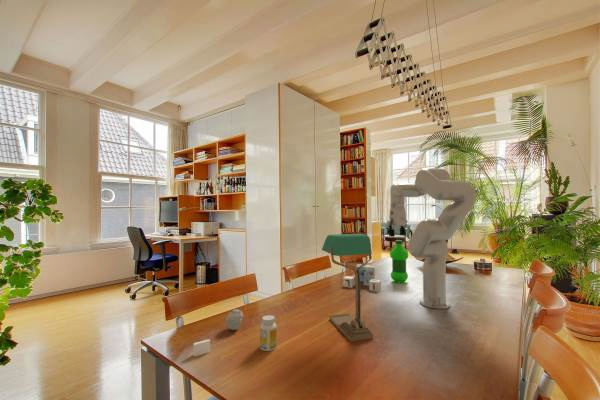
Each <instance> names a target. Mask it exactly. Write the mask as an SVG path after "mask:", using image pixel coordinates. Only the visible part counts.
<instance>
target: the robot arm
mask: <svg viewBox="0 0 600 400" xmlns="http://www.w3.org/2000/svg"><path fill="white" fill-rule="evenodd" d="M425 195H429V197H430V198H432V199H434V200H436V201H452V202H450V203H449V204H448V205H446V206H445V207H444V208H443V210H442V212H441V213H440V215H439V216H438V217H436V218H426V219H423V220H421V221H420V222H418V224H417V225H416V227H415V229H414V231H413V233H412V236H410V239H409V241H408V253H409V254H410V255H411V257H414V258H418V259H420V258H424V261H423V264H422V276H423V277H422V283H423V284H422V286H423V287H422V290H423V291H422V292H423V293H422V295H423V296H422V298H420V299H419V303H420V304H421V305H422V306H424V307H426V308H431V309H435V310H436V309H440V310H443V309H449V308H450V306H451V304H450V302H448V301H447V291H446V290H447V289H446V288H447V287H446V286H447V285H446V284H447V283H446V280H447V279H446V276H447V275H446V273H447V271H446V269H447V268H446V266H447V265H446V264H447V263H446V262H447V256H448V255H447V254H448V250H449V247H448V246H449V245H448V242H447V240H450V239H452V237H453V236H454V235H455V233H456V231H457V230H458V228H459V227H460V225H461V224H462V222H463V220H465V218H466V216H467V215H468V214H469V213H470V211H471V210H472V208H473V207H474V205H475V203H476V198H477V195H476V189H475V187H474V186H473V184H471V183H470V182H469V181H465V180H464V181H463V180H454V179H453V180H451V175H450V173H449V171H448V170H446V169H443V168H437V167H435V168H433V167H430V168H429V167H424V168H421V169H420V170H419V171H417V173H416V175H415V180H414V183H410V182H409V183H407V182H405V183H403V182H402V183H396V184H394V183H393V184H391V186H390V210H389V216H388V217H389V218H388V220H387V221H386V225H387V228H388V236H389V237H393V238H394V237H395V228H396V227H400V228H399V235H400V236H405V235H406V228H407V224H408V220H407V212H406V208H405V198H419V197H422V196H425Z"/></svg>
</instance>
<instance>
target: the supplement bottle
mask: <svg viewBox="0 0 600 400" xmlns="http://www.w3.org/2000/svg"><path fill="white" fill-rule="evenodd" d="M275 318H276V317H275V316H274V315H271V314H270V315H264V316H262V319H261V320H262V321H261V322H262V323H261V324H260V326H259V349H260V351H263V352H271V351H273V350H275V349H276V348H277V327H278V326H277V324H276V322H275V321H276V319H275Z"/></svg>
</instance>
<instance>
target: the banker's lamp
mask: <svg viewBox="0 0 600 400" xmlns="http://www.w3.org/2000/svg"><path fill="white" fill-rule="evenodd" d="M321 251H324V252H325V253H327V254H330V257H331V263H333V264H334V265H337V266H339V267H340V266H341V267H344V268H346V269H350V270H352V271H353V272H354V283H355V318H354V317H353V316H351V314H350V312H344V313H335V314H329V321H331V323H332V324H333V325H334V326H335V327H336V328H337V329H338V330H339V331H340V332H341V333H342V334H343V335H344V337H346V338H347V339H348V341H349V342H357V341H365V340H370V339H371V340H373V339H374V333H373V332H372V331H371V330H370V328H369V327H368V326H367V325H366V324H365V321H364V319H363V318H361V311H362V310H361V306H362V305H361V300H362V299H361V285H360V273H359V269H360V268H361V267H363V266H364V265H367V263H369V262H370V261H371V260H372V257H373V256H372V254H373V253H372V243H371V239H370V236H369V235H368V234H363V233H341V234H338V233H337V234H336V233H335V234H328V235H327V236H326V238H325V241H324V243H323V245H322V248H321ZM359 255H362V256H363V255H368V260H367V261H365V262H364V263H362V264H361V266H360V267H358V268H357V270H356V268H355V267H351V266H349V265H346V264H344V263H341V262H339V261H336V260H335V258H334V256H335V257H341V256H345V257H346V256H359Z"/></svg>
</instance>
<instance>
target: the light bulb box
mask: <svg viewBox="0 0 600 400" xmlns="http://www.w3.org/2000/svg"><path fill="white" fill-rule="evenodd" d="M361 265H362V264H360V263H357V264H356V266H355V269H356V270H357V268H358V267H360V266H361ZM375 269H376V268H375V265H374V264H365V265H364V266H363V267H361V268H360V269H359V273H360V286H368V287H369V281H370V280H371V279H374V280H376V279H375V275H376V273H375V272H376V271H375Z"/></svg>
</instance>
